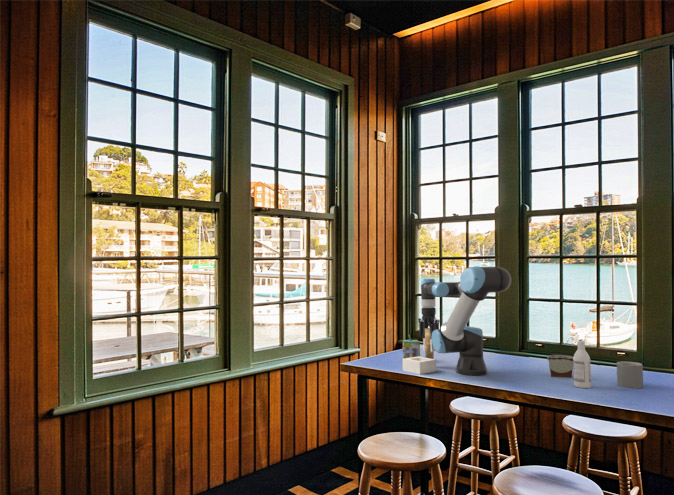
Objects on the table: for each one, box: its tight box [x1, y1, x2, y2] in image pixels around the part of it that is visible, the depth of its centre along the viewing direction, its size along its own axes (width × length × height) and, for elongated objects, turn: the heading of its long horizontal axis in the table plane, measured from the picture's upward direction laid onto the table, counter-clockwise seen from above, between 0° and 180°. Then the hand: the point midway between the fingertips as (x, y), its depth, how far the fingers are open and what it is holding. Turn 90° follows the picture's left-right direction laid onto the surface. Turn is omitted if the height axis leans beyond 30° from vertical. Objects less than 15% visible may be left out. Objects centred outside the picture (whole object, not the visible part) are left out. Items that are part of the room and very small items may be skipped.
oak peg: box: [424, 327, 435, 359], centre depth 260 cm, size 4×4×16 cm
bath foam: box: [572, 340, 592, 389], centre depth 215 cm, size 7×7×20 cm
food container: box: [547, 354, 573, 379], centre depth 236 cm, size 12×6×10 cm, turn 74°
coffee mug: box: [616, 360, 644, 390], centre depth 217 cm, size 13×10×10 cm
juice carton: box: [402, 334, 421, 360], centre depth 279 cm, size 9×9×15 cm
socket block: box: [402, 356, 437, 375], centre depth 249 cm, size 12×12×6 cm
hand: (429, 350), depth 260 cm, fingers closed on oak peg, 4 cm apart
